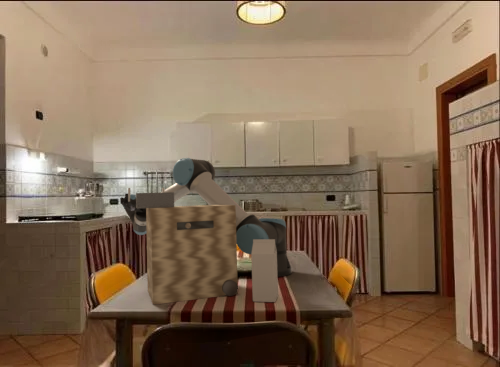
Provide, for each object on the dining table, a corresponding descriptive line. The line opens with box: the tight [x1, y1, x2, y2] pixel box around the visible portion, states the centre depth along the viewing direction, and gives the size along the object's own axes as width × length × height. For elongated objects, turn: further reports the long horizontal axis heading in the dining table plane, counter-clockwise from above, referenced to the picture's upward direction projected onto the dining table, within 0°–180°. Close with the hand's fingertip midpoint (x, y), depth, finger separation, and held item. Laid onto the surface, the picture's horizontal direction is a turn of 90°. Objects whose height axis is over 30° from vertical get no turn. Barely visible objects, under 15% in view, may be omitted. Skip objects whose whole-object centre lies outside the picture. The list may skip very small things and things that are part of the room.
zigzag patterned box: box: [146, 204, 239, 305], centre depth 128 cm, size 28×20×30 cm
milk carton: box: [250, 239, 279, 303], centre depth 118 cm, size 7×7×19 cm
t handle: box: [135, 192, 175, 209], centre depth 135 cm, size 12×30×5 cm, turn 20°
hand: (146, 190), depth 151 cm, fingers open, 13 cm apart
